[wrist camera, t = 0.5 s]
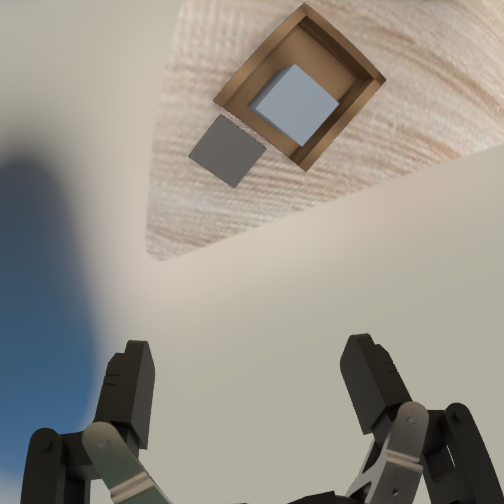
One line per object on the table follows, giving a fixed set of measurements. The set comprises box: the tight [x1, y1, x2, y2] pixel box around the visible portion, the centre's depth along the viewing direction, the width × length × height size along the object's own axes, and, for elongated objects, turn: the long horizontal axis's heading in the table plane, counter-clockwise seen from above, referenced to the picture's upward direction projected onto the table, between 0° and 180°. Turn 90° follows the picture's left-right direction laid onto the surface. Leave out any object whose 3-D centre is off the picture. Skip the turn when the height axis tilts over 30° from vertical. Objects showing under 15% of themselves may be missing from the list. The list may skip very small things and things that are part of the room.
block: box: [247, 64, 339, 146], centre depth 25 cm, size 5×5×7 cm
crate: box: [213, 2, 386, 172], centre depth 26 cm, size 13×11×4 cm
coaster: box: [189, 114, 266, 188], centre depth 30 cm, size 6×6×1 cm
